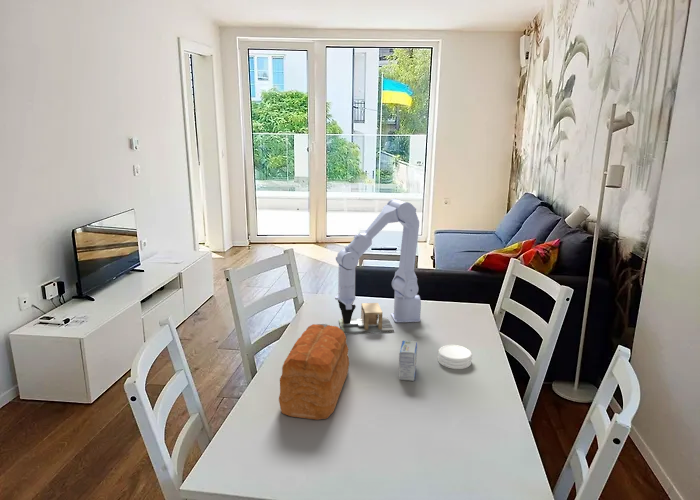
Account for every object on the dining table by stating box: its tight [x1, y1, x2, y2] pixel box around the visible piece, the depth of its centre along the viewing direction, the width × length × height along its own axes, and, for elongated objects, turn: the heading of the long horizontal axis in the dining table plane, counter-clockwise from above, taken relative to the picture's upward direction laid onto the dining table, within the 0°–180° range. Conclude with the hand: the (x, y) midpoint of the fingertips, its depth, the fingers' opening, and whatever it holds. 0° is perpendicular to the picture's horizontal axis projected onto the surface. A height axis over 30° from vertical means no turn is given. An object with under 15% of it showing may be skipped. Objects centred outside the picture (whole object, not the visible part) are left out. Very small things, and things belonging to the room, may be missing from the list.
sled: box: [341, 309, 378, 327], centre depth 170 cm, size 13×6×5 cm, turn 97°
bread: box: [278, 323, 350, 421], centre depth 128 cm, size 14×27×15 cm, turn 170°
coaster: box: [437, 344, 473, 370], centre depth 146 cm, size 10×10×4 cm
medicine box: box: [398, 339, 418, 382], centre depth 138 cm, size 8×4×9 cm, turn 168°
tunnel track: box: [338, 302, 395, 335], centre depth 170 cm, size 18×11×7 cm, turn 97°
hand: (346, 321), depth 169 cm, fingers closed on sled, 3 cm apart
